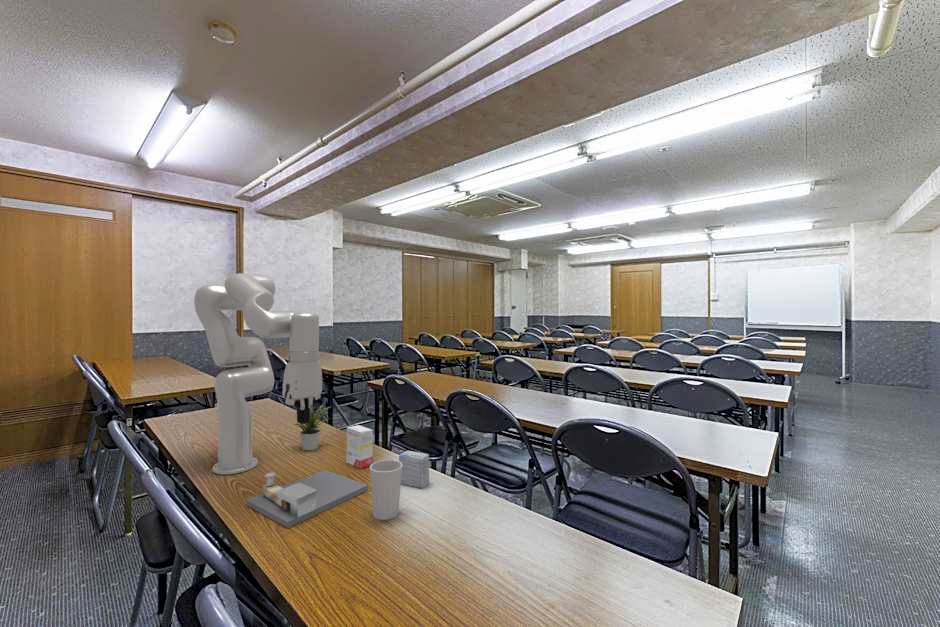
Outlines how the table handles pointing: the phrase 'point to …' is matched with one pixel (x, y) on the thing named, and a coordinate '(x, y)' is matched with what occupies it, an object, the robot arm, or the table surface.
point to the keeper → (299, 498)
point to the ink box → (359, 446)
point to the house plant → (311, 430)
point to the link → (275, 495)
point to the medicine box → (414, 468)
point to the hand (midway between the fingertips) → (303, 422)
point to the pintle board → (329, 495)
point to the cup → (385, 488)
